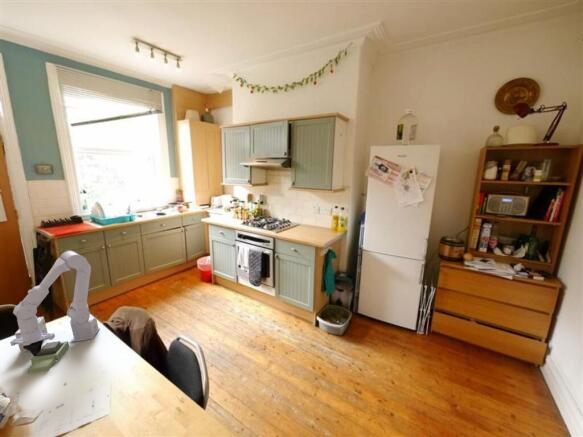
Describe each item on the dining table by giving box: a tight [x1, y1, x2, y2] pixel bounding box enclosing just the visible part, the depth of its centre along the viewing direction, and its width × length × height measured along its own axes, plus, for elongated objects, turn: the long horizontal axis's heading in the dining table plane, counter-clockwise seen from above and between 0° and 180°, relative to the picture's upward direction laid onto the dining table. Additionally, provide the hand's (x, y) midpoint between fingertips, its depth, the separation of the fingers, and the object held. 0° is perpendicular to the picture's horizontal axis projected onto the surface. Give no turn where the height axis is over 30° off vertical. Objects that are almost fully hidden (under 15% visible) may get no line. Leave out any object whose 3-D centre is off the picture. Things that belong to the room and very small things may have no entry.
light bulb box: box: [14, 316, 49, 353], centre depth 118 cm, size 11×7×11 cm, turn 26°
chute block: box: [37, 340, 63, 357], centre depth 112 cm, size 7×5×6 cm
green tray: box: [26, 340, 70, 375], centre depth 110 cm, size 10×14×3 cm
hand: (37, 354), depth 111 cm, fingers closed
